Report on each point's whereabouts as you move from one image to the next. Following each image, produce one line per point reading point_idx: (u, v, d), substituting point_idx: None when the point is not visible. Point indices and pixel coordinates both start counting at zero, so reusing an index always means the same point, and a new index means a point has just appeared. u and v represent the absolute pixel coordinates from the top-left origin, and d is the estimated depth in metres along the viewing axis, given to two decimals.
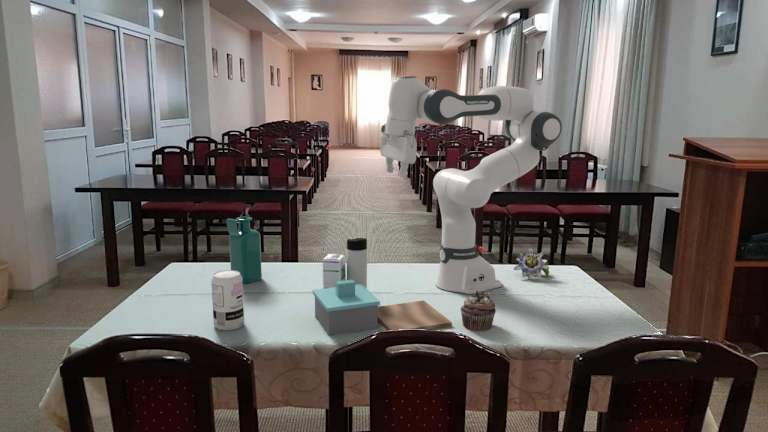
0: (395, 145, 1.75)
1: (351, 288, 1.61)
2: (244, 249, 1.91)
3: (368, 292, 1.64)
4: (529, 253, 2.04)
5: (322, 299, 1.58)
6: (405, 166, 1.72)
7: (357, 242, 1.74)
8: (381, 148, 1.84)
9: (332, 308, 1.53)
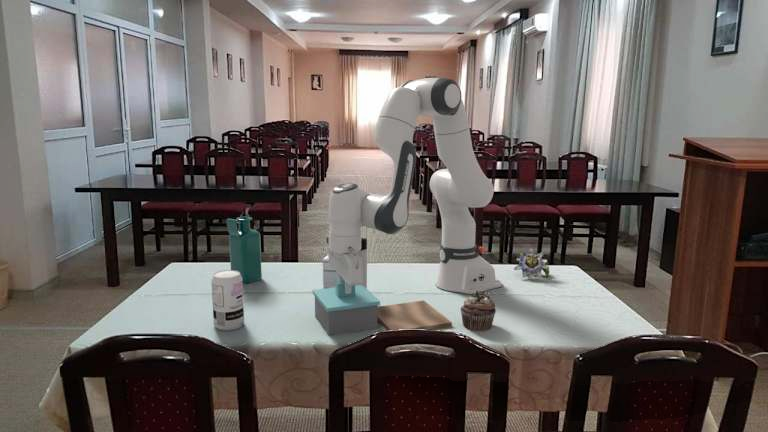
0: (341, 261, 1.58)
1: (351, 288, 1.61)
2: (244, 249, 1.91)
3: (368, 292, 1.64)
4: (529, 253, 2.04)
5: (322, 299, 1.58)
6: None
7: None
8: (329, 258, 1.67)
9: (332, 308, 1.53)
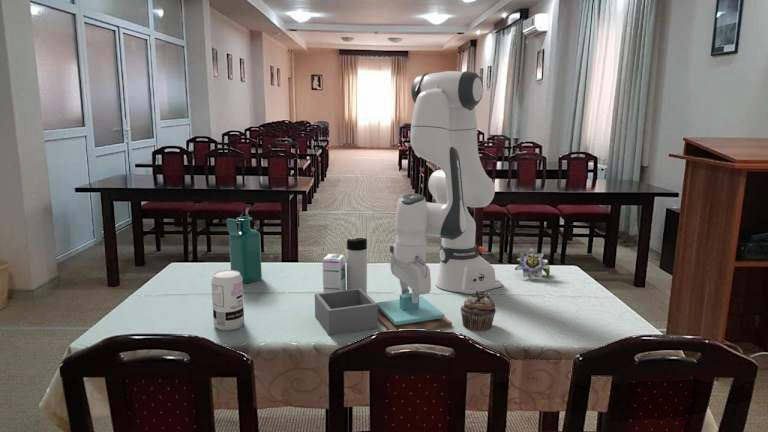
0: (406, 270, 1.61)
1: None
2: (244, 249, 1.91)
3: (430, 305, 1.68)
4: (530, 253, 2.04)
5: (388, 312, 1.62)
6: (417, 293, 1.60)
7: (357, 242, 1.74)
8: (391, 266, 1.71)
9: (400, 321, 1.57)
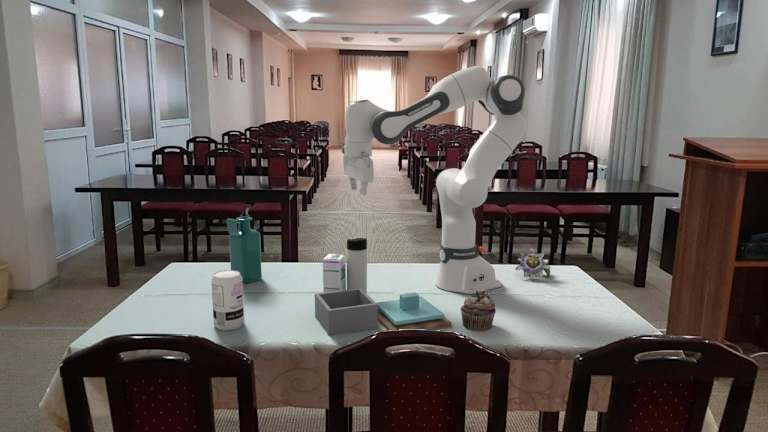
0: (355, 165, 1.88)
1: (415, 301, 1.65)
2: (244, 249, 1.91)
3: (430, 305, 1.68)
4: (530, 253, 2.04)
5: (388, 312, 1.62)
6: (365, 185, 1.85)
7: (357, 242, 1.74)
8: (344, 167, 1.97)
9: (400, 321, 1.57)
